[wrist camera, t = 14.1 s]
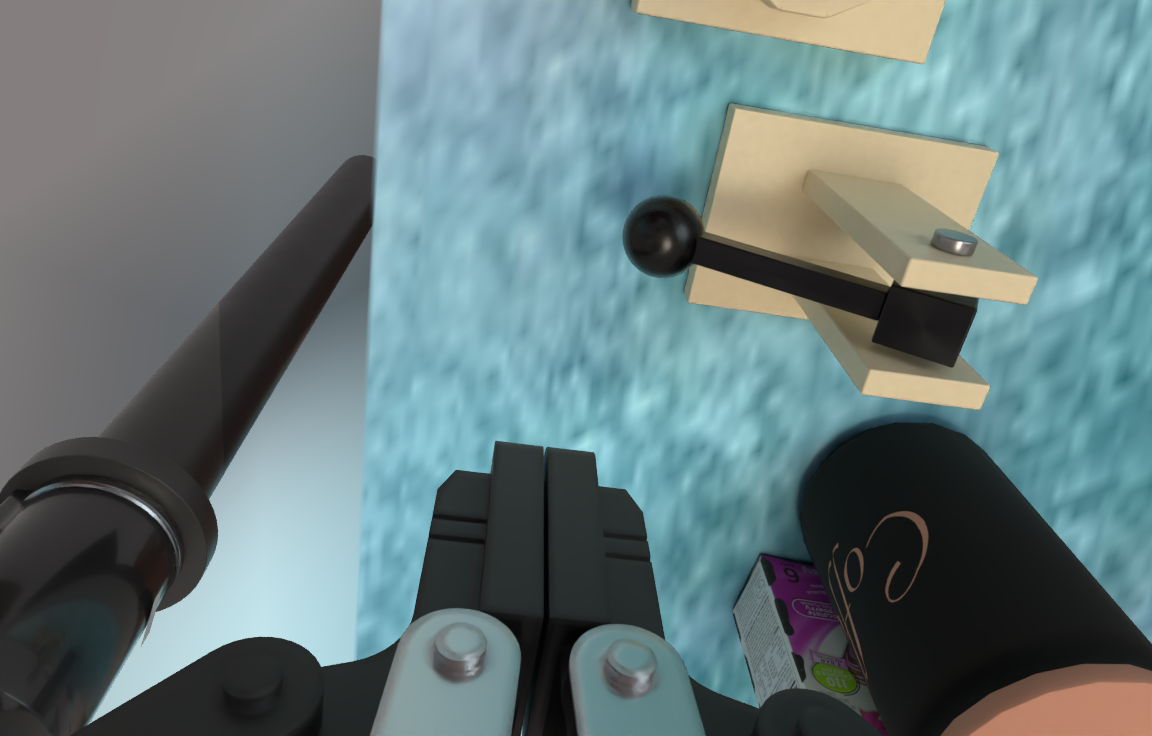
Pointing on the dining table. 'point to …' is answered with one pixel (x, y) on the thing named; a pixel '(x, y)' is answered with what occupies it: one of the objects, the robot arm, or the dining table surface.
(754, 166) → the lever base
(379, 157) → the dining table surface
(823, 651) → the candy bar box
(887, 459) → the coffee jar
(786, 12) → the button block
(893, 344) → the black lever
